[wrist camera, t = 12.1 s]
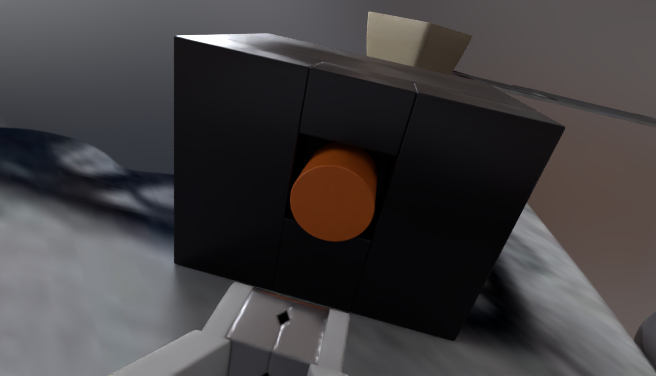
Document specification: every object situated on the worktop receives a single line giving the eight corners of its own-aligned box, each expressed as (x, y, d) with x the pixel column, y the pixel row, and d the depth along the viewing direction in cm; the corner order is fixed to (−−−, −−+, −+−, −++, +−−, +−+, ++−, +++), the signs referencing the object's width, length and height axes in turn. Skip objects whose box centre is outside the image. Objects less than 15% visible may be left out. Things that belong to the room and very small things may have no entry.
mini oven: (443, 229, 29) (502, 86, 24) (473, 347, 18) (594, 133, 13) (251, 180, 30) (267, 33, 25) (173, 263, 19) (173, 35, 14)
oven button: (367, 215, 18) (386, 151, 16) (362, 251, 15) (384, 177, 14) (301, 197, 18) (313, 133, 17) (284, 230, 15) (296, 155, 14)
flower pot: (396, 84, 103) (413, 23, 96) (450, 103, 91) (474, 35, 84) (351, 81, 91) (366, 10, 84) (406, 102, 79) (430, 23, 72)
